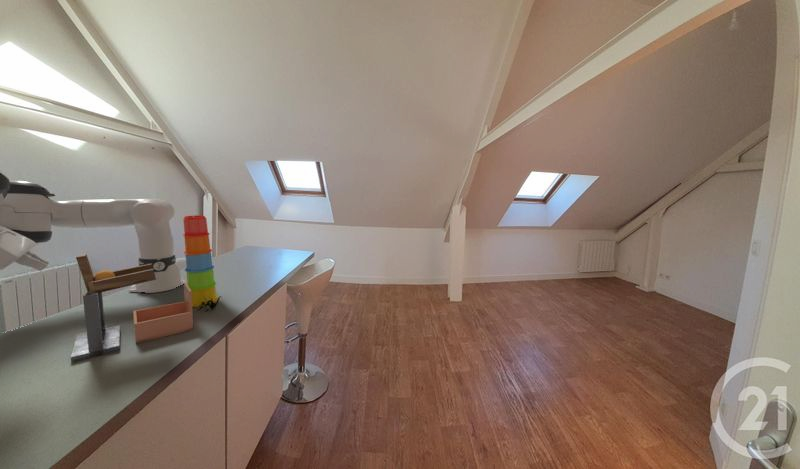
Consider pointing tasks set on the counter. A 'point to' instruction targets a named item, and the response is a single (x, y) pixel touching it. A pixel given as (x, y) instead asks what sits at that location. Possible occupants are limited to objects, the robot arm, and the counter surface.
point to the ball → (103, 275)
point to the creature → (212, 305)
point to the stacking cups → (199, 260)
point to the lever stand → (95, 331)
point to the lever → (120, 280)
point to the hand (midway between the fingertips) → (45, 267)
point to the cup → (164, 319)
